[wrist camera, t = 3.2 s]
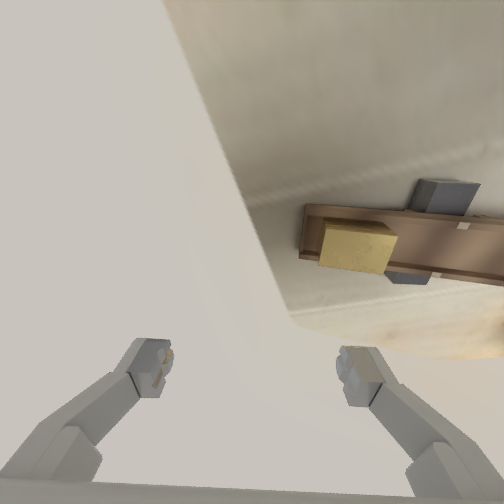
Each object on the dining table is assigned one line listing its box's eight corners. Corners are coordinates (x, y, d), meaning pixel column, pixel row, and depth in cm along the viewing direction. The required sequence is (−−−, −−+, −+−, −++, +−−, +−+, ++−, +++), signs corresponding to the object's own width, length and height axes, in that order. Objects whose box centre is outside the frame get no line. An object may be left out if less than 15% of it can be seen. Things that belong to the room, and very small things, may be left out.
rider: (382, 222, 20) (398, 236, 17) (371, 255, 22) (383, 274, 19) (323, 216, 22) (326, 228, 18) (316, 248, 24) (318, 265, 20)
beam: (622, 226, 18) (686, 241, 15) (570, 280, 21) (616, 302, 18) (306, 201, 24) (305, 209, 20) (299, 246, 26) (298, 258, 23)
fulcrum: (457, 180, 21) (480, 183, 19) (412, 273, 26) (426, 284, 24) (419, 179, 21) (438, 182, 19) (382, 272, 27) (393, 283, 24)
